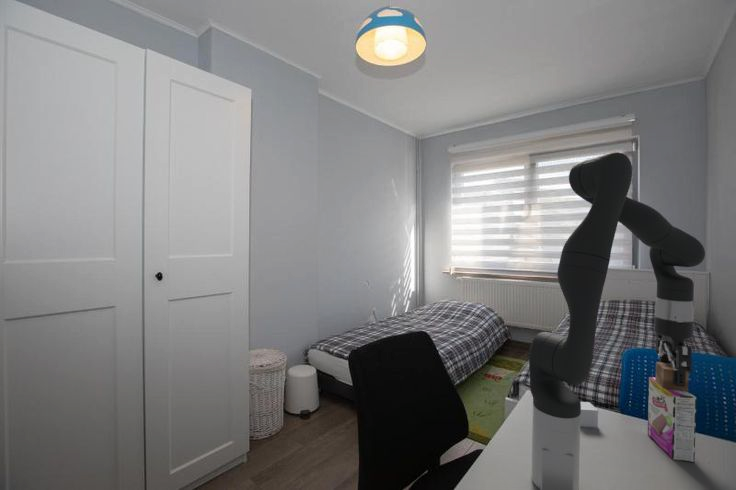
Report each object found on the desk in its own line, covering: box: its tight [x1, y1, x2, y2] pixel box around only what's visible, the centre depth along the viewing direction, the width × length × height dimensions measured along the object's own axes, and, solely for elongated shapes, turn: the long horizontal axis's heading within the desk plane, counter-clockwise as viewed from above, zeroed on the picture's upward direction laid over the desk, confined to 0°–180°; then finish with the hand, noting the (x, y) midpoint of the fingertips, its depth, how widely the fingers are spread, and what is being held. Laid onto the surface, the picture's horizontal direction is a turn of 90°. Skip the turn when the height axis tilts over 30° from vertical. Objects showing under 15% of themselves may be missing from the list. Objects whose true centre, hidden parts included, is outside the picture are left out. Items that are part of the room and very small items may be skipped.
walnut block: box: [655, 361, 690, 392], centre depth 90 cm, size 5×5×5 cm
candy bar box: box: [647, 376, 697, 463], centre depth 90 cm, size 11×5×16 cm, turn 168°
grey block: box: [580, 401, 599, 428], centre depth 103 cm, size 5×5×5 cm
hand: (671, 379), depth 90 cm, fingers open, 8 cm apart
